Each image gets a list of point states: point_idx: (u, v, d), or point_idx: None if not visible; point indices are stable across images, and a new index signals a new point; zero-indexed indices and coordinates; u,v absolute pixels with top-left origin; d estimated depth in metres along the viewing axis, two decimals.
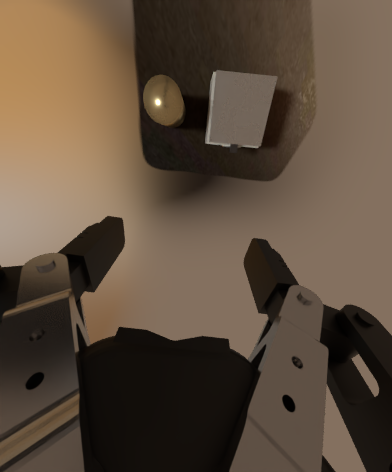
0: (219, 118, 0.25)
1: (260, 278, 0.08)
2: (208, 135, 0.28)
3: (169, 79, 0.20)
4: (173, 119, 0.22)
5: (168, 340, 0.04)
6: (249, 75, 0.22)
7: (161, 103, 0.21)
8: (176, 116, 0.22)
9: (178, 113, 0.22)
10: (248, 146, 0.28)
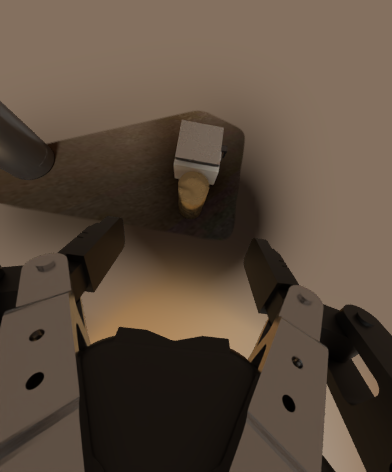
0: (203, 156, 0.31)
1: (259, 278, 0.08)
2: (212, 170, 0.33)
3: (181, 178, 0.26)
4: (206, 179, 0.27)
5: (168, 340, 0.04)
6: (179, 136, 0.31)
7: (195, 187, 0.26)
8: (204, 177, 0.27)
9: (202, 175, 0.27)
10: None
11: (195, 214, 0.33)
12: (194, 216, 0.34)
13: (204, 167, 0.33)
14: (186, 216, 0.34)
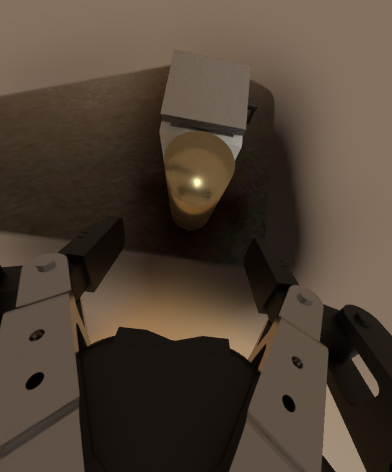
0: (215, 113, 0.16)
1: (259, 278, 0.08)
2: (231, 143, 0.18)
3: (171, 144, 0.11)
4: (227, 148, 0.12)
5: (168, 340, 0.04)
6: (170, 77, 0.17)
7: (204, 164, 0.11)
8: (223, 143, 0.12)
9: (218, 139, 0.12)
10: None
11: (200, 223, 0.18)
12: (198, 226, 0.19)
13: None
14: (184, 227, 0.20)
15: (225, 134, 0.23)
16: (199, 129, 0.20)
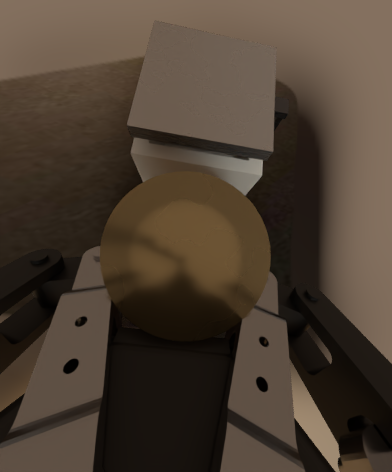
0: (221, 124, 0.10)
1: None
2: (245, 170, 0.11)
3: (120, 209, 0.05)
4: (251, 210, 0.05)
5: (168, 340, 0.04)
6: (146, 64, 0.10)
7: (198, 256, 0.05)
8: (240, 198, 0.05)
9: (230, 189, 0.05)
10: None
11: None
12: None
13: (221, 162, 0.11)
14: None
15: None
16: None
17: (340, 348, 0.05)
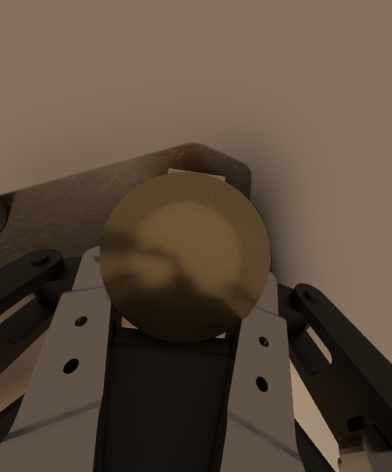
0: None
1: None
2: None
3: (119, 210, 0.05)
4: (250, 211, 0.05)
5: None
6: None
7: (198, 257, 0.05)
8: (240, 198, 0.05)
9: (230, 190, 0.05)
10: None
11: None
12: None
13: None
14: None
15: None
16: None
17: (340, 348, 0.05)
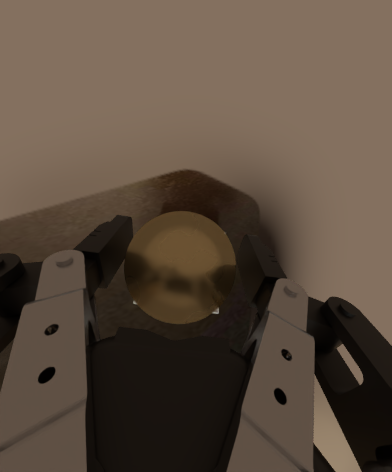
0: None
1: (250, 273, 0.09)
2: None
3: (136, 239, 0.07)
4: (223, 238, 0.08)
5: (168, 340, 0.04)
6: None
7: (187, 270, 0.07)
8: (217, 229, 0.08)
9: (210, 223, 0.08)
10: None
11: None
12: None
13: None
14: None
15: None
16: None
17: (374, 368, 0.05)
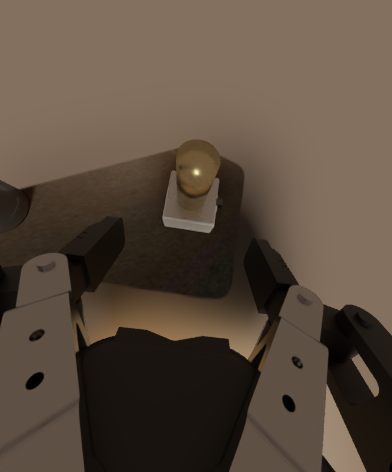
0: (196, 213, 0.28)
1: (260, 278, 0.08)
2: (207, 224, 0.29)
3: (180, 149, 0.18)
4: (215, 150, 0.19)
5: (168, 340, 0.04)
6: (169, 190, 0.28)
7: (201, 161, 0.18)
8: (212, 147, 0.19)
9: (209, 144, 0.19)
10: None
11: (199, 203, 0.25)
12: (197, 206, 0.26)
13: None
14: (187, 207, 0.27)
15: None
16: None
17: (391, 380, 0.04)
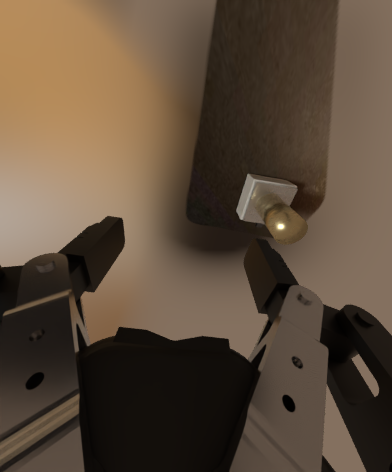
0: (253, 208, 0.35)
1: (259, 278, 0.08)
2: (242, 214, 0.37)
3: (301, 220, 0.25)
4: (294, 241, 0.27)
5: (168, 340, 0.04)
6: (278, 187, 0.32)
7: (288, 233, 0.26)
8: (298, 240, 0.27)
9: (300, 238, 0.26)
10: None
11: (260, 216, 0.33)
12: (258, 212, 0.33)
13: None
14: (258, 204, 0.33)
15: None
16: None
17: (391, 380, 0.04)
